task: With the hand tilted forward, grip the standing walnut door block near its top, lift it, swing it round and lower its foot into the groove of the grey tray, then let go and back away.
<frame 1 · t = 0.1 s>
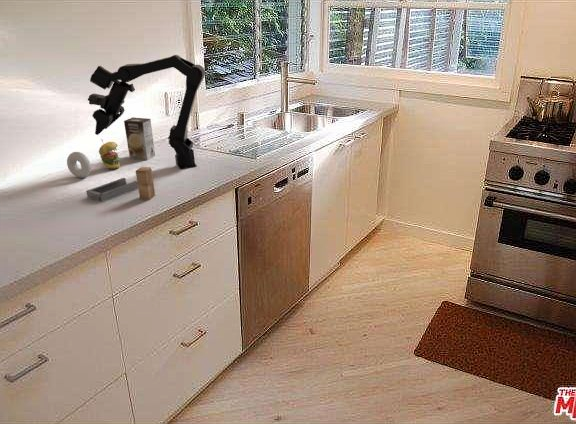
hand: (100, 131, 191), 15 cm above the countertop, tool tilted 35°, fingers open, 9 cm apart
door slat: (147, 197, 166), on the countertop
donut: (81, 178, 188), on the countertop
grey tray: (113, 192, 171), on the countertop
hamburger: (112, 168, 197), on the countertop
coffee box: (142, 157, 209), on the countertop
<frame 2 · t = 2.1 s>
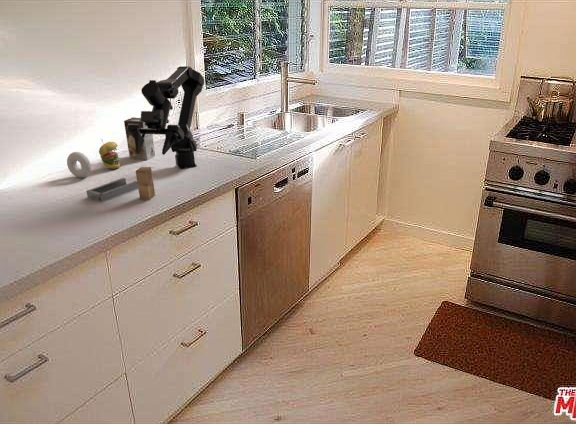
hand: (150, 153, 167), 13 cm above the countertop, tool tilted 45°, fingers open, 9 cm apart
nothing on the countertop moved.
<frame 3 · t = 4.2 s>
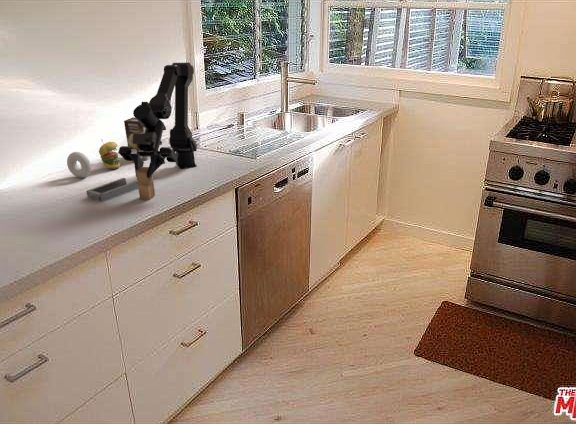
hand: (142, 177, 162), 8 cm above the countertop, tool tilted 45°, fingers closed on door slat, 3 cm apart
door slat: (147, 197, 166), on the countertop, touching gripper
everything else where it was.
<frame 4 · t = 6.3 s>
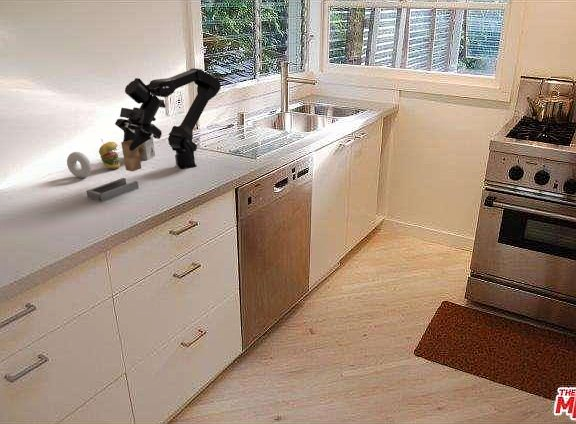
hand: (127, 149, 172), 13 cm above the countertop, tool tilted 45°, fingers closed on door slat, 3 cm apart
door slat: (133, 169, 176), point 6 cm above the countertop, touching gripper
everything else where it was.
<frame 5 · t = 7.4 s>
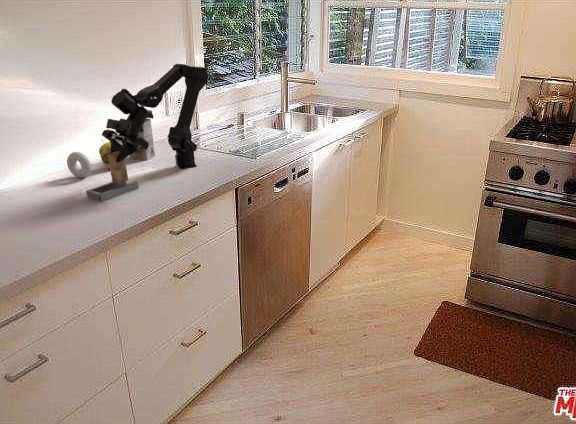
hand: (113, 161, 169), 11 cm above the countertop, tool tilted 45°, fingers closed on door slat, 3 cm apart
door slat: (120, 181, 173), point 3 cm above the countertop, touching gripper
everything else where it was.
when the fingers open (9 cm above the countertop, at t = 8.4 s): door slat stays where it is, resting on grey tray.
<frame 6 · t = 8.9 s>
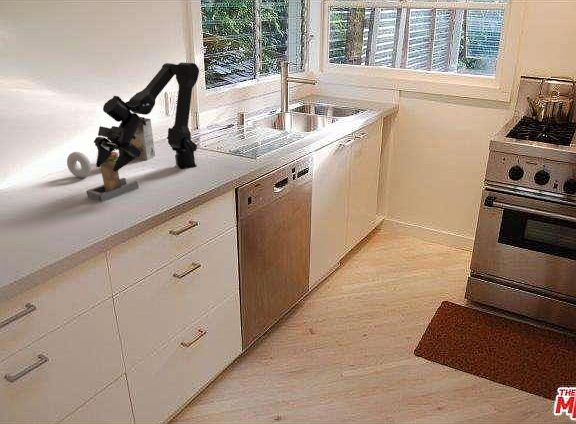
hand: (105, 169, 167), 9 cm above the countertop, tool tilted 45°, fingers open, 9 cm apart
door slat: (113, 191, 171), resting on grey tray
everything else where it was.
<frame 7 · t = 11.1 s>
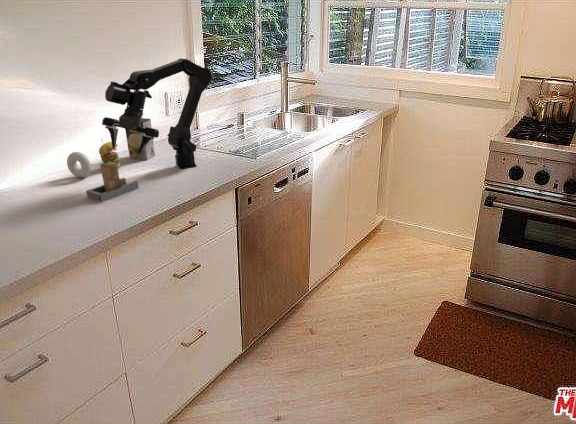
hand: (126, 151, 177), 11 cm above the countertop, tool tilted 20°, fingers open, 9 cm apart
nothing on the countertop moved.
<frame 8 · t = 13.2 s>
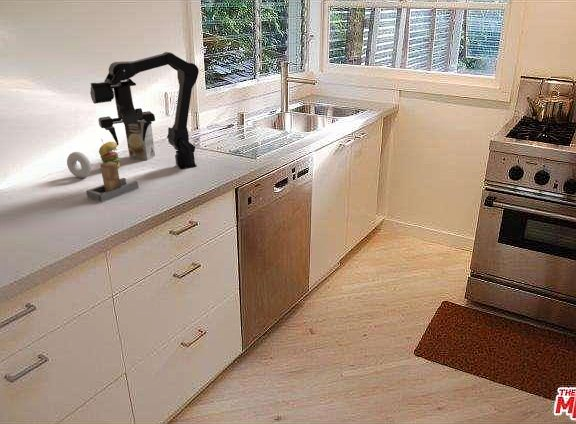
hand: (130, 142, 181), 13 cm above the countertop, tool pointing down, fingers open, 9 cm apart
nothing on the countertop moved.
at the end: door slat 0.0 cm from the grey tray (horizontally); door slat tilted 0°; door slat point 0.5 cm above the countertop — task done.
